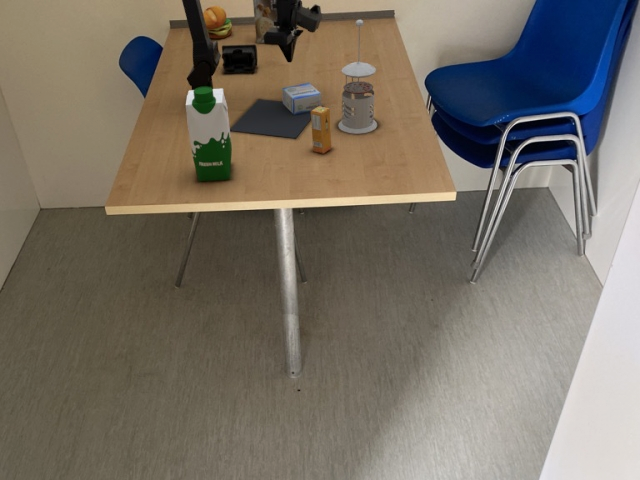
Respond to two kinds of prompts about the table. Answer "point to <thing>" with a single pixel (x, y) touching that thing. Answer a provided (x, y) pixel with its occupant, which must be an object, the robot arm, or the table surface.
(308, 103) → the medicine box
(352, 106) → the french press
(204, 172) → the milk carton
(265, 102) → the mat
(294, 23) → the robot arm
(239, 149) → the table surface
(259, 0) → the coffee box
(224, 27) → the cheeseburger
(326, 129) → the supplement box
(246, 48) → the end cap
